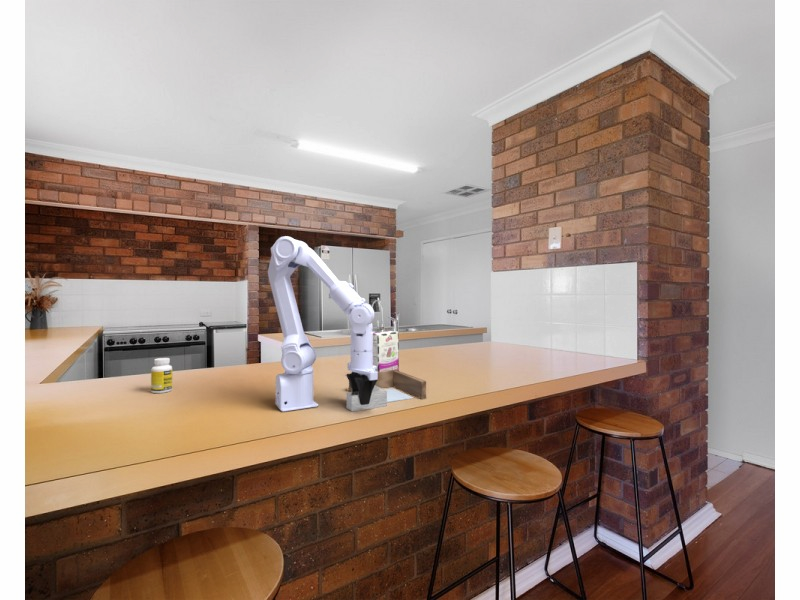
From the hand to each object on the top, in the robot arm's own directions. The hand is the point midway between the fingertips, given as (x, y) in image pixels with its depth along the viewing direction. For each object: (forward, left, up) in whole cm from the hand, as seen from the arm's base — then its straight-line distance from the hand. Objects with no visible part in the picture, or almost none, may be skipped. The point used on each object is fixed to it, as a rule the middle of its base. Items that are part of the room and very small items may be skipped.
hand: (361, 402), depth 100 cm
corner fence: (+10, +8, -1) cm, 13 cm away
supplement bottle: (-46, +44, -2) cm, 63 cm away
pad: (+12, +7, -1) cm, 14 cm away
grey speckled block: (+2, +3, -1) cm, 3 cm away
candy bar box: (+20, +25, -2) cm, 32 cm away
